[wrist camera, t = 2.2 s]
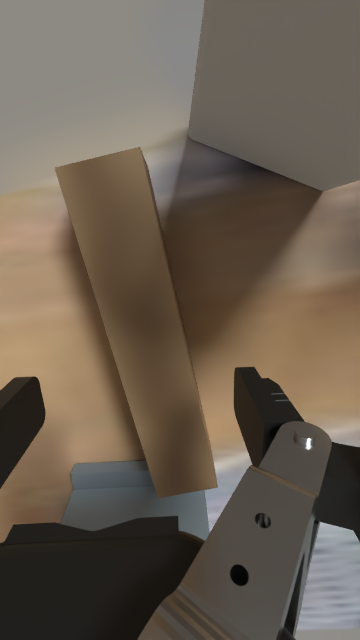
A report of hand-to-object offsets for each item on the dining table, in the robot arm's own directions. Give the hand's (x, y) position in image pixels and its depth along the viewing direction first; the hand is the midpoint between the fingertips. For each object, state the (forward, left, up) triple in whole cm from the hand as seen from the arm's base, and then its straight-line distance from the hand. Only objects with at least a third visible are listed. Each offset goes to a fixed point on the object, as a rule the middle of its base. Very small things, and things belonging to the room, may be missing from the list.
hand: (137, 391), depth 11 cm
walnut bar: (0, 0, -8) cm, 8 cm away
